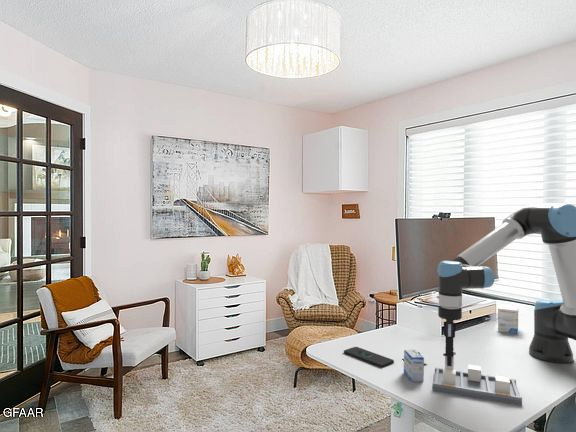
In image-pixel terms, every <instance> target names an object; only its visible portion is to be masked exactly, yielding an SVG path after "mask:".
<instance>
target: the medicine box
mask: <svg viewBox="0 0 576 432" xmlns="http://www.w3.org/2000/svg"><path fill="white" fill-rule="evenodd" d="M418 352H419V351H417V350H416V349H404V351H403V359H404V361H403V373H404V374H405V375H406V377H408V378H409V380H410V381H411V382H424V381H425V379H424V378H425V377H424V375H425V374H424V373H425V372H424V371H425V370H424V369H425V366H424V363H425V357H424V356H423V355H421V353H420V352H419V353H420V354H419V353H418Z"/></svg>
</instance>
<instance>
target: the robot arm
mask: <svg viewBox="0 0 576 432" xmlns="http://www.w3.org/2000/svg"><path fill="white" fill-rule="evenodd" d="M529 235H541V240H542V243H543V244H544V245H547V246H548V248H549V251H550V256H551V260H552V264H553V268H554V273H555V276H556V280H557V283H558V284H557V285H558V288H559V292H560V296H561V299H559V300H557V299H540V300H537V301H535V304H534V309H533V314H534V315H533V316H534V317H533V318H534V319H533V322H534V323H533V325H534V329H533V330H534V334H533V337H532V340H531V341H530V344H529V348H528V353H529V355H530V356H531V357H534V358H536V359H537V360H542V361H546V362H550V363H556V364H557V363H558V364H568V363H572V362H573V361H574V353H573V351H572V348H571V345H570V342H569V339H572V340H574V341H576V206H575V205H573V204H570V203H562V202H561V203H560V202H559V203H533V204H529V205H526V206H524V207H522V208H520V209H518V210H515V212H513V213H511V214H510V215H508V216H507V217H505V218H504V219H503V220H502V223H501V224H500V225H499V226H498V227H496V228H495V229H494V230H492V231H490V232H489V233H488V234H486V235H485V236H484V237H482V238H481V239H479V240H478V241H476V242H474V244H472V245H470V247H468V248H467V249H465V250H464V251H462V252H461V253H460V254H458V255H457V256H456V257H454V258H453V259H451V260H447V259H446V260H441V261H440V262H439V263H438V265H437V268H436V271H437V274H438V295H437V296H436V299H438V305H439V306H437V307H438V308H437V309H438V311H437V316H438V317H439V318H440V319H442V320H445V321H443V330H444V331H443V335H444V337H445V353H443V354H442V355H443V357H444V368H447V369H454V365H455V364H454V362H455V361H454V359H455V357H454V355H455V356H456V355H457V354H456V352H455V351H454V349H455V348H454V339H455V337H456V330H457V323H456V322H454V321H459V320H461V319H462V318H463V309H462V306H463V290H466V289H467V290H469V289H470V290H471V289H472V290H473V289H481V290H482V289H485V288H491V287H492V286H493V285H494V283H495V273H494V271H493V269H492V268H491V267H489V266H482V264H483V263H485V262H486V261H487V260H489V259H490V258H492V257H493V256H495V255H496V254H497V253H498V252H500V251H501V250H503V249H504V248H506V247H507V246H508V245H510V244H512V243H513V242H514V241H515V240H521V239H523V238H524V237H526V236H529ZM454 370H455V369H454Z"/></svg>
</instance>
